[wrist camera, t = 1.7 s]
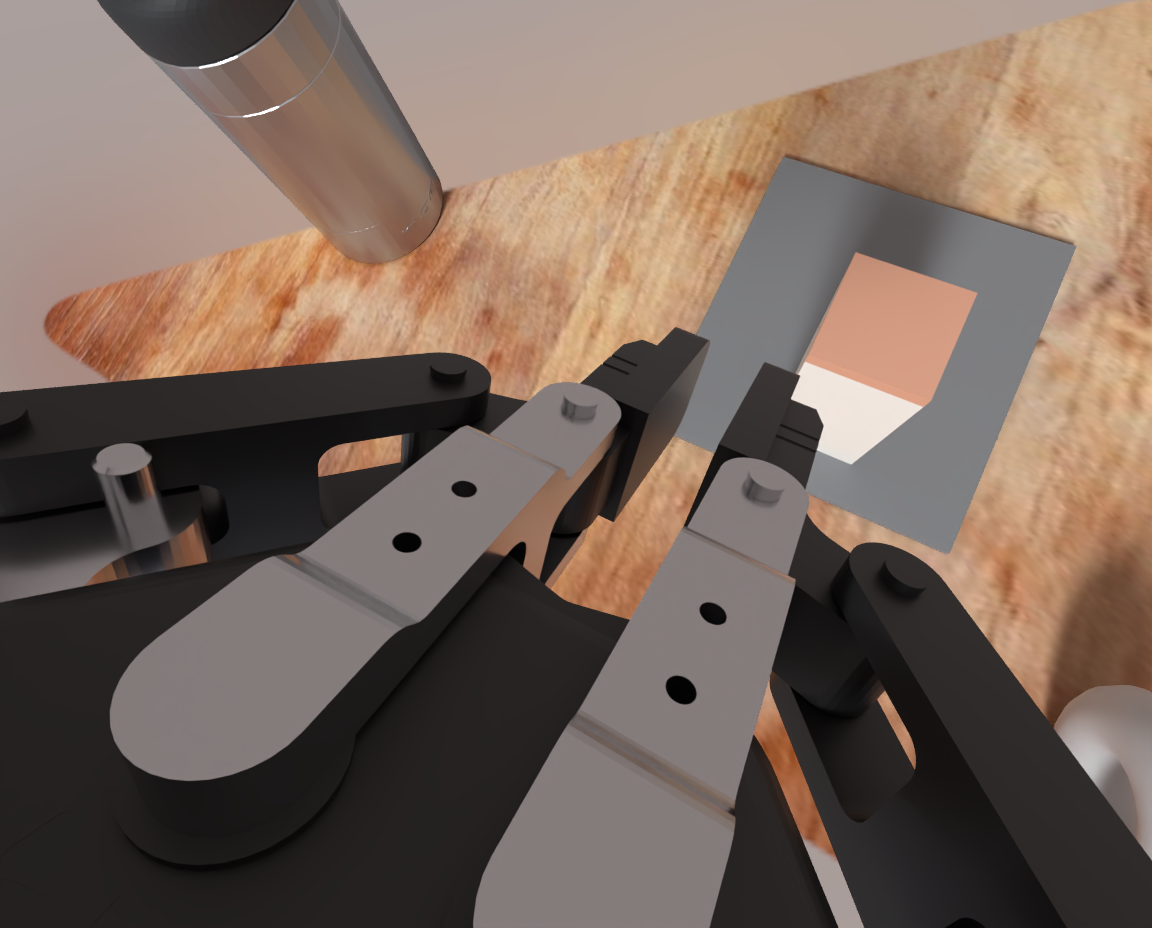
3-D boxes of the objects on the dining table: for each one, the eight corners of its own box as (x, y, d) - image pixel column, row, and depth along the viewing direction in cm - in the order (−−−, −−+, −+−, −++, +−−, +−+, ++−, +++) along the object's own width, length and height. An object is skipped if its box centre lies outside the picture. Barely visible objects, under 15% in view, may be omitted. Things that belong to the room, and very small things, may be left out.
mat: (652, 426, 39) (652, 424, 39) (782, 161, 42) (783, 156, 41) (945, 554, 35) (949, 553, 34) (1071, 250, 37) (1076, 246, 37)
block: (769, 430, 37) (808, 354, 26) (802, 358, 38) (855, 252, 26) (851, 464, 36) (930, 401, 25) (884, 389, 37) (977, 292, 25)
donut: (1028, 667, 33) (1170, 694, 24) (1102, 677, 33) (1280, 710, 23) (1030, 874, 31) (1185, 997, 22) (1108, 889, 31) (1305, 1023, 21)
